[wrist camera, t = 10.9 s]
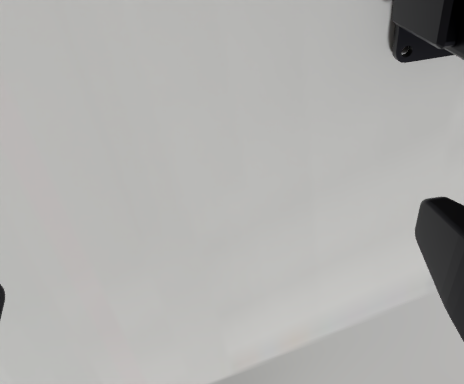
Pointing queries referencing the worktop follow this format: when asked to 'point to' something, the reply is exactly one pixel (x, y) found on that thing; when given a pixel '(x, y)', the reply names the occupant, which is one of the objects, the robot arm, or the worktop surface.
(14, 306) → the worktop surface
